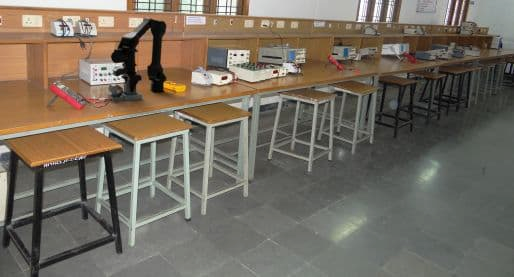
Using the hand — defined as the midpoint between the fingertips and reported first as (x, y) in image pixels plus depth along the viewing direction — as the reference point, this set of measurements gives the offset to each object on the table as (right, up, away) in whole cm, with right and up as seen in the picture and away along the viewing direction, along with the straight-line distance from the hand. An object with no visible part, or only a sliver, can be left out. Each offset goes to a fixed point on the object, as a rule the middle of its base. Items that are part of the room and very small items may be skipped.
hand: (130, 91), depth 221 cm
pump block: (0, -1, 0) cm, 2 cm away
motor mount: (-3, -4, -1) cm, 5 cm away
